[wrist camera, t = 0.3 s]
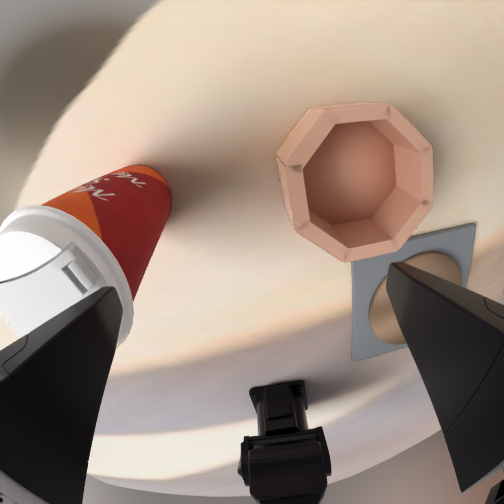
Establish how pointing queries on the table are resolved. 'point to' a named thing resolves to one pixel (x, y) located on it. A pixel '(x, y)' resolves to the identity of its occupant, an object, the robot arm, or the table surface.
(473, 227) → the mat
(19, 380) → the robot arm
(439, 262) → the lid
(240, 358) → the table surface
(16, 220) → the paper cup
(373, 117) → the bowl
